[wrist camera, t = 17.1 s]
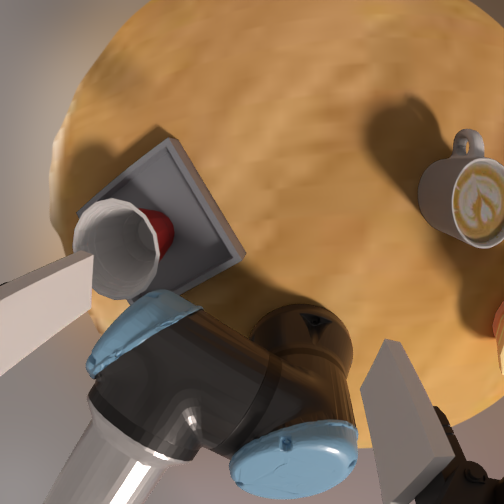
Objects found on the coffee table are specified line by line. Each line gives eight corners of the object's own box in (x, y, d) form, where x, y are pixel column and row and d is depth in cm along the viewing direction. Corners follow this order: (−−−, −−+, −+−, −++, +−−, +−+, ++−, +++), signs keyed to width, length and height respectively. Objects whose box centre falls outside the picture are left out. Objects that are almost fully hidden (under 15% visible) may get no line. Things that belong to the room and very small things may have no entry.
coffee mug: (468, 238, 37) (506, 256, 27) (410, 222, 38) (441, 237, 28) (485, 148, 33) (526, 145, 24) (428, 125, 34) (463, 114, 25)
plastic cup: (210, 234, 41) (178, 258, 29) (158, 283, 44) (116, 319, 32) (157, 173, 40) (108, 176, 28) (110, 227, 43) (57, 245, 31)
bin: (246, 253, 42) (242, 260, 38) (148, 308, 46) (138, 317, 43) (178, 139, 39) (168, 137, 36) (89, 209, 43) (76, 212, 40)
